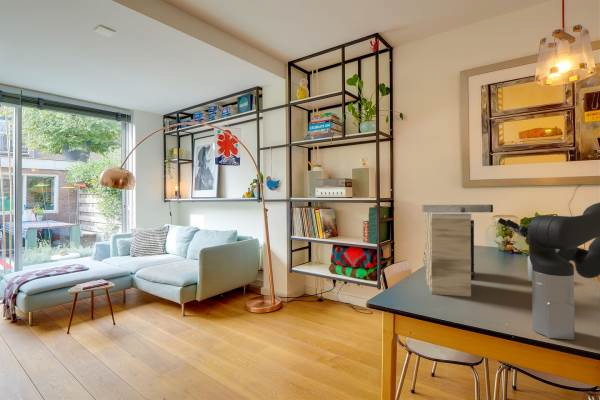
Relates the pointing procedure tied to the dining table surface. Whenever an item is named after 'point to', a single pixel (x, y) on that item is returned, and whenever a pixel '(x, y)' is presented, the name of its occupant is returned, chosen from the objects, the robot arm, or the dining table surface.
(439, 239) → the stand
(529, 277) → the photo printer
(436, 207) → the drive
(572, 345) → the dining table surface
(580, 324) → the dining table surface
